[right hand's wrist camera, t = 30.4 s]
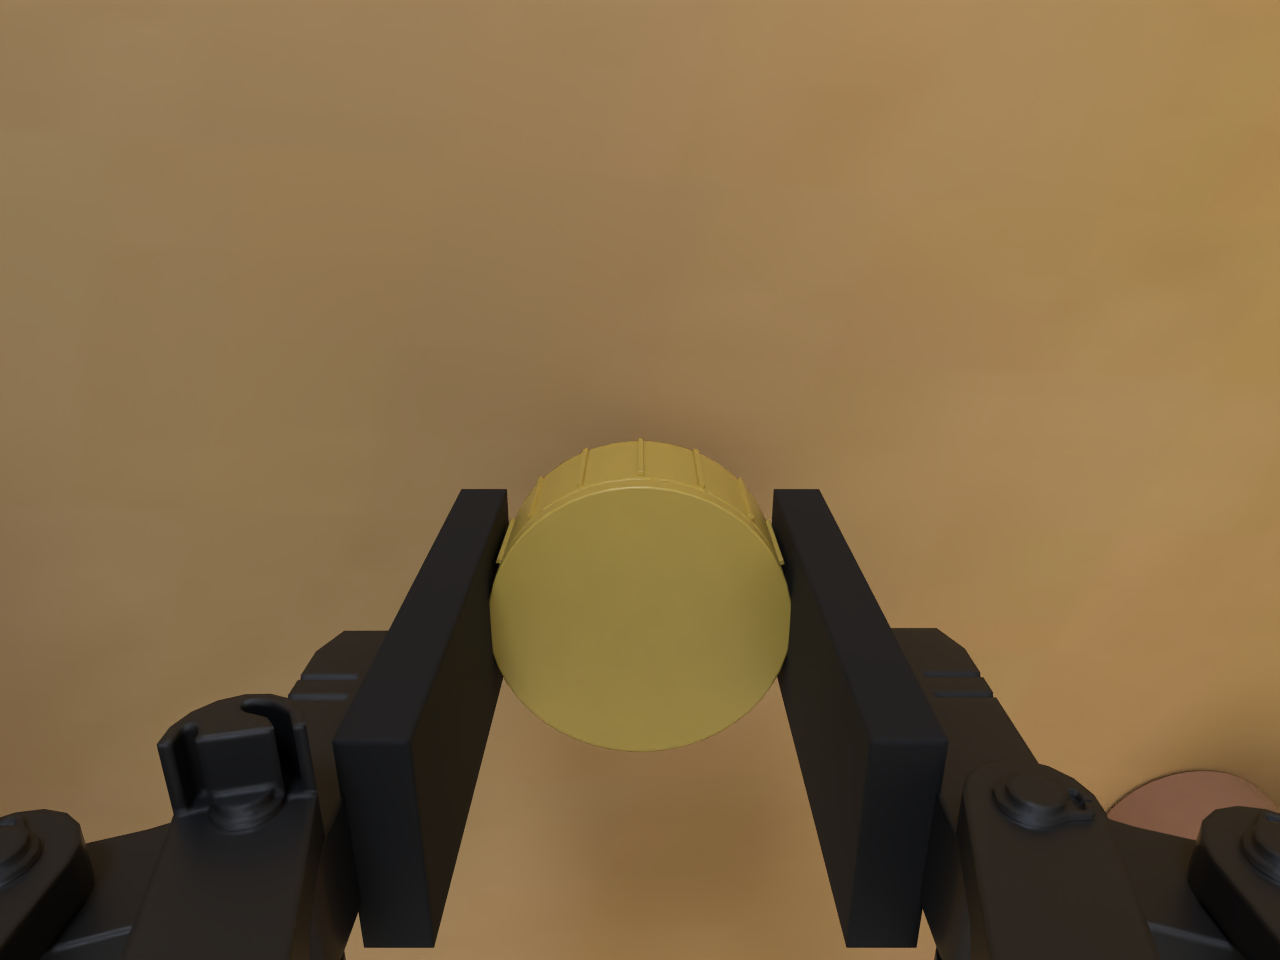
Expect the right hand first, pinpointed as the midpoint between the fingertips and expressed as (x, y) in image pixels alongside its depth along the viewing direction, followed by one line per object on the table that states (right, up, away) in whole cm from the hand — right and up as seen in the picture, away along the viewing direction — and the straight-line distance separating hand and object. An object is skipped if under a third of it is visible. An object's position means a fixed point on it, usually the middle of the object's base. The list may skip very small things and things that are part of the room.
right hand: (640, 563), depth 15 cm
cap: (0, -1, -2) cm, 2 cm away
